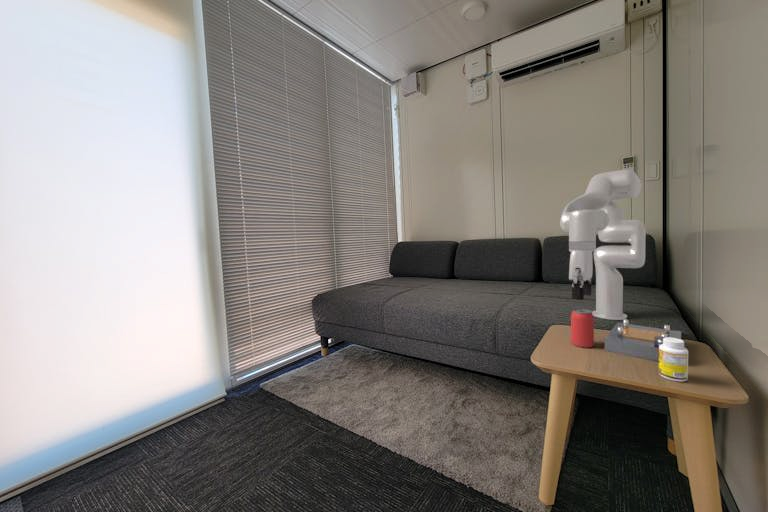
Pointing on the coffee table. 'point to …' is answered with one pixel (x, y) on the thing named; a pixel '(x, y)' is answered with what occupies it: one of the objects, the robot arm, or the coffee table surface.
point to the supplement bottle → (673, 359)
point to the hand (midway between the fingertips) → (581, 296)
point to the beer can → (582, 328)
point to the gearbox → (638, 340)
